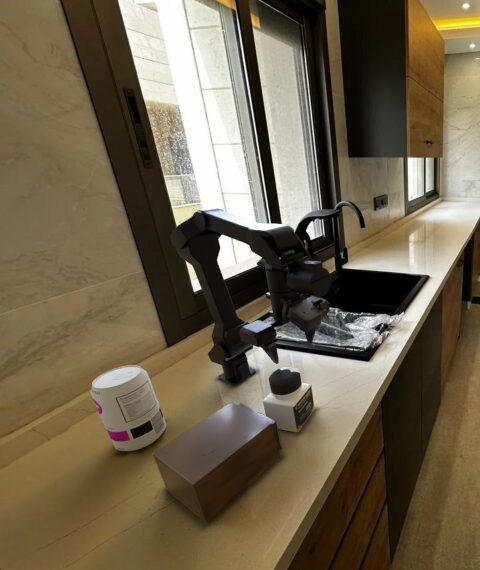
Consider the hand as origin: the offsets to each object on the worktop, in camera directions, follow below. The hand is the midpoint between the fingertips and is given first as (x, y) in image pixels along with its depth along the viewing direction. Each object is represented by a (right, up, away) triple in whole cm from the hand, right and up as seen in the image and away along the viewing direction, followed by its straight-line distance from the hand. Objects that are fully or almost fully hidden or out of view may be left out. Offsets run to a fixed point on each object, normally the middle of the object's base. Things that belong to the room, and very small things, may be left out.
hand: (294, 352), depth 73 cm
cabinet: (-7, -19, -14) cm, 24 cm away
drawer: (-6, -17, -12) cm, 22 cm away
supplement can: (-29, -16, -6) cm, 33 cm away
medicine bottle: (0, -14, -1) cm, 14 cm away
